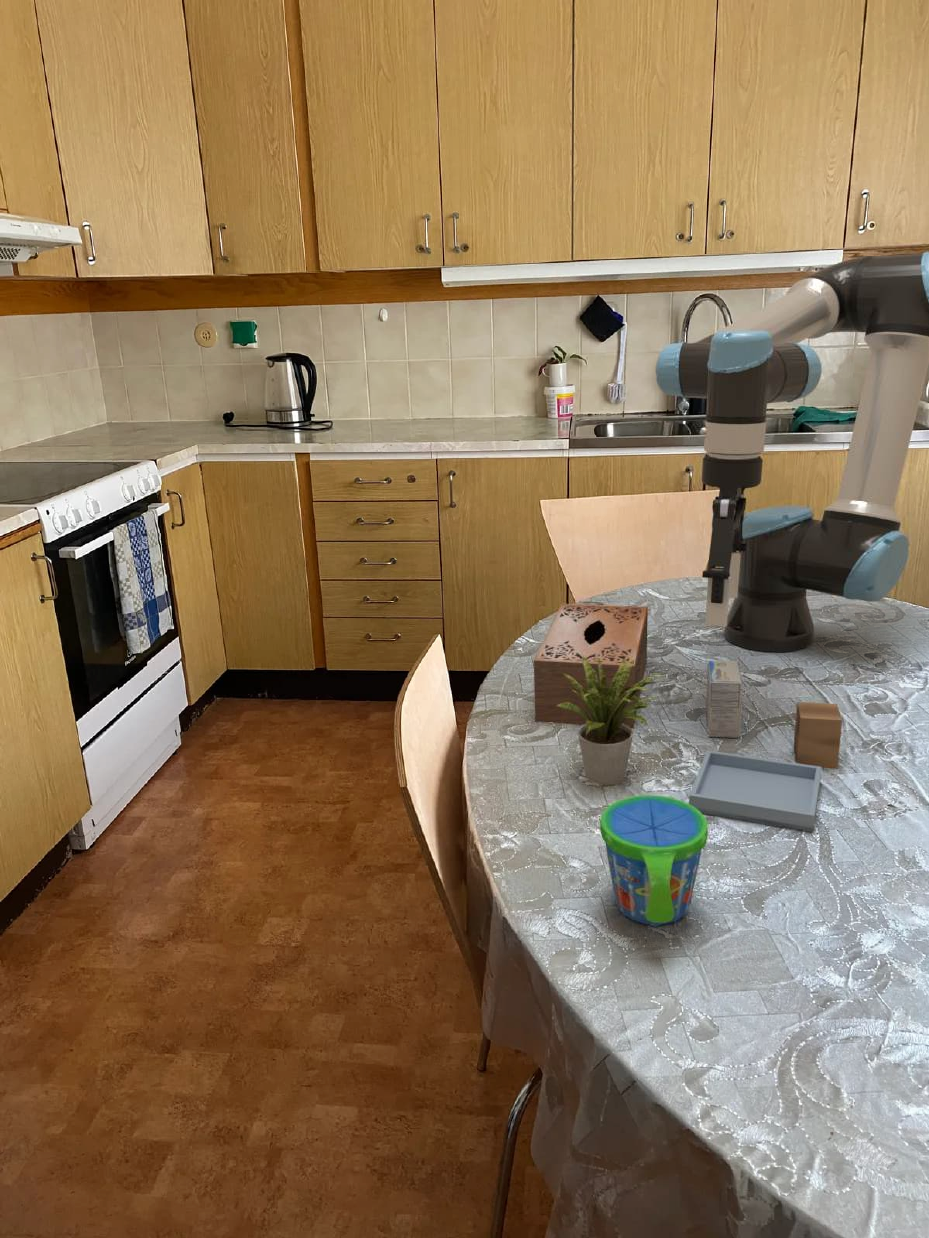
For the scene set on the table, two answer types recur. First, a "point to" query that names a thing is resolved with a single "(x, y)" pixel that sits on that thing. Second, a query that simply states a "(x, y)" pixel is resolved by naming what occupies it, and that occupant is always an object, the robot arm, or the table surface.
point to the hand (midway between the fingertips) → (721, 610)
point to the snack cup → (653, 855)
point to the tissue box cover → (587, 656)
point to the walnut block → (817, 734)
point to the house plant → (607, 722)
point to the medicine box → (724, 699)
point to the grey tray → (757, 790)
